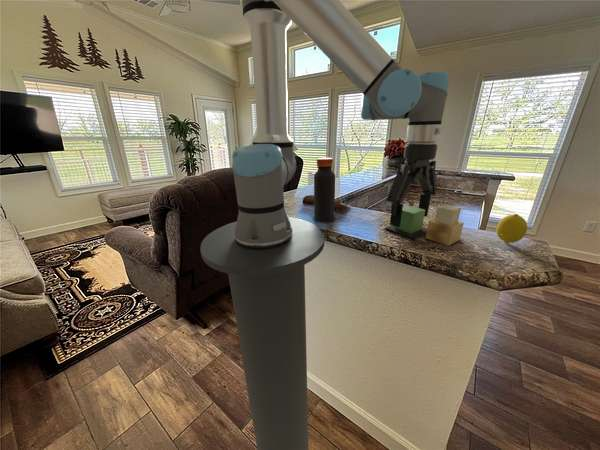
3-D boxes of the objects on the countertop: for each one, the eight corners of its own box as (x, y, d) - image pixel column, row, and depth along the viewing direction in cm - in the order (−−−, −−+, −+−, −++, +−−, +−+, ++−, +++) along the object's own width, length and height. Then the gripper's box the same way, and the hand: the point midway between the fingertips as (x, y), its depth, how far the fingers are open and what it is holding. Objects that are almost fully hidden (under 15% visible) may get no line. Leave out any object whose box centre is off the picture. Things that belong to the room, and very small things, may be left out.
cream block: (434, 221, 62) (437, 206, 61) (442, 218, 64) (445, 204, 63) (450, 225, 59) (453, 210, 58) (457, 222, 61) (461, 207, 60)
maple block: (425, 238, 64) (428, 221, 63) (436, 232, 67) (440, 216, 66) (448, 246, 60) (452, 227, 58) (459, 239, 63) (463, 222, 61)
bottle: (312, 216, 83) (311, 158, 76) (330, 214, 84) (331, 157, 77) (317, 223, 77) (317, 160, 70) (336, 221, 78) (338, 159, 71)
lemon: (493, 237, 64) (502, 209, 61) (520, 242, 60) (531, 213, 57) (492, 244, 60) (501, 214, 57) (521, 250, 57) (532, 219, 54)
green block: (393, 227, 70) (396, 208, 68) (404, 223, 73) (407, 205, 71) (410, 233, 66) (414, 213, 64) (421, 229, 69) (425, 209, 66)
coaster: (385, 229, 71) (385, 227, 70) (403, 222, 75) (403, 220, 75) (412, 239, 64) (413, 237, 64) (430, 231, 68) (431, 229, 68)
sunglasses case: (351, 206, 90) (348, 194, 86) (343, 220, 87) (338, 207, 83) (314, 199, 101) (309, 188, 97) (305, 211, 98) (300, 199, 94)
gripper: (405, 146, 51) (393, 235, 59) (460, 141, 64) (444, 214, 72) (377, 145, 57) (370, 226, 65) (432, 140, 70) (420, 208, 78)
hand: (409, 220), depth 68 cm, fingers open, 13 cm apart
